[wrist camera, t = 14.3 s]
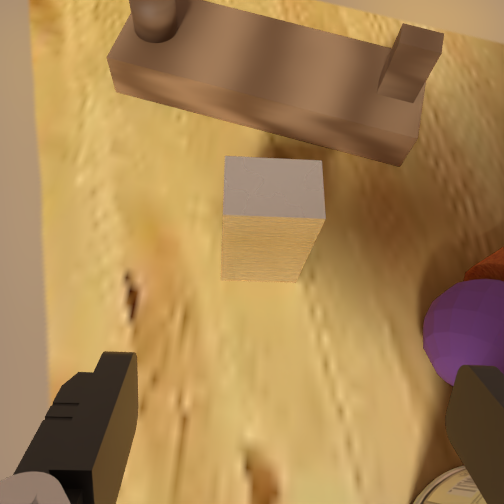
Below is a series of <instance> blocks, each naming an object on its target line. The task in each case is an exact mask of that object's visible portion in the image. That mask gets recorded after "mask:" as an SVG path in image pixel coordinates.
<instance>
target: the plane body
mask: <svg viewBox="0 0 504 504" xmlns="http://www.w3.org/2000/svg"><path fill="white" fill-rule="evenodd" d="M129 3H130V8H131V14H130V16H129V18H128V19H127V21H126V23H125V25H124V27H123V28H122V30H121V32H120V34H119V36H118V38H117V39H116V41H115V43H114V45H113V47H112V49H111V50H110V52H109V54H108V56H107V61H108V64H109V68H110V72H111V75H112V79H113V83H114V86H115V90H116V92H119V93H122V94H126V95H130V96H134V97H137V98H141V99H145V100H149V101H153V102H156V103H160V104H164V105H168V106H172V107H175V108H179V109H183V110H187V111H191V112H194V113H198V114H202V115H206V116H210V117H213V118H217V119H221V120H225V121H228V122H232V123H236V124H240V125H244V126H247V127H251V128H255V129H259V130H263V131H266V132H270V133H274V134H278V135H282V136H285V137H289V138H293V139H297V140H301V141H304V142H308V143H312V144H316V145H319V146H323V147H327V148H331V149H335V150H338V151H342V152H346V153H350V154H354V155H357V156H361V157H365V158H369V159H373V160H376V161H380V162H384V163H388V164H391V165H395V166H399V167H400V165H401V164H402V162H403V161H404V159H405V158H406V156H407V155H408V153H409V151H410V150H411V148H412V147H413V145H414V144H415V142H416V141H417V139H418V133H419V126H420V119H421V112H422V105H423V98H424V91H425V84H426V80H427V78H428V76H429V74H430V73H431V71H432V69H433V67H434V66H435V64H436V62H437V60H438V59H439V57H440V55H441V53H442V45H443V37H444V34H443V33H439V32H435V31H431V30H427V29H423V28H419V27H415V26H411V25H407V24H402V27H401V29H400V31H399V33H398V36H397V38H396V40H395V43H394V45H393V47H392V48H388V47H384V46H380V45H376V44H372V43H368V42H364V41H360V40H356V39H352V38H348V37H345V36H341V35H337V34H333V33H329V32H325V31H321V30H317V29H313V28H309V27H305V26H301V25H297V24H293V23H289V22H285V21H282V20H278V19H274V18H270V17H266V16H262V15H258V14H254V13H250V12H246V11H242V10H238V9H234V8H230V7H226V6H222V5H219V4H215V3H211V2H207V1H203V0H129Z"/></svg>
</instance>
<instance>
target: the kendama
mask: <svg viewBox="0 0 504 504" xmlns="http://www.w3.org/2000/svg"><path fill="white" fill-rule="evenodd" d="M423 348H424V350H425V352H426V354H427V356H428V357H429V359H430V361H431V363H432V365H433V367H434V369H435V370H436V372H437V374H438V375H439V376H440V377H441V378H442V379H443V380H444V381H445V382H447V383H449V384H450V385H452V386H454V382H455V378H456V375H457V371H458V369H459V368H460V367H461V366H462V365H485V366H495V367H497V368H498V369H499V370H500V371H501V372H502V373H503V374H504V247H502V248H501V249H499V250H498V251H496V252H495V253H493V254H491V255H490V256H488V257H487V258H485V259H484V260H482V261H481V262H479V263H477V264H476V265H474V266H473V267H472V268H470V269H469V270H468V271H467V272H466V273H465V277H464V282H459V283H456V284H455V285H454V286H452V287H451V288H449V289H448V290H447V291H445V292H444V293H442V294H441V295H440V296H439V297H438V298H436V299H435V300H434V301H433V302H432V304H431V306H430V308H429V310H428V312H427V314H426V316H425V318H424V325H423Z"/></svg>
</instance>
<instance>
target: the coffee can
mask: <svg viewBox="0 0 504 504" xmlns="http://www.w3.org/2000/svg"><path fill="white" fill-rule="evenodd" d="M413 504H487V503H486V501H485V500H484V498H483V496H482V495H481V493H480V491H479V490H478V488H477V486H476V484H475V483H474V481H473V479H472V478H471V476H470V474H469V473H468V471H467V469H466V468H465V466H464V465H463V466H460V467H457V468H454V469H451V470H449V471H447V472H445V473H444V474H442V475H440V476H439V477H437V478H436V479H434V480H433V481H432V482H431V483H430V484H429V485H428V486H427V487H426V488H425V489H424V490H423V491H422V492H421V493H420V494H419V495H418V496H417V498H416V499H415V501H414V503H413Z"/></svg>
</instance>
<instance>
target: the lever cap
mask: <svg viewBox="0 0 504 504" xmlns="http://www.w3.org/2000/svg"><path fill="white" fill-rule="evenodd" d="M325 220H326V214H325V200H324V185H323V170H322V160H301V159H280V158H258V157H237V156H225V173H224V202H223V231H222V261H221V280H227V281H261V282H294V283H296V281H297V279H298V277H299V275H300V273H301V271H302V268H303V266H304V264H305V262H306V260H307V258H308V256H309V254H310V251H311V249H312V247H313V245H314V243H315V241H316V239H317V237H318V234H319V232H320V230H321V228H322V226H323V224H324V222H325Z"/></svg>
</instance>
